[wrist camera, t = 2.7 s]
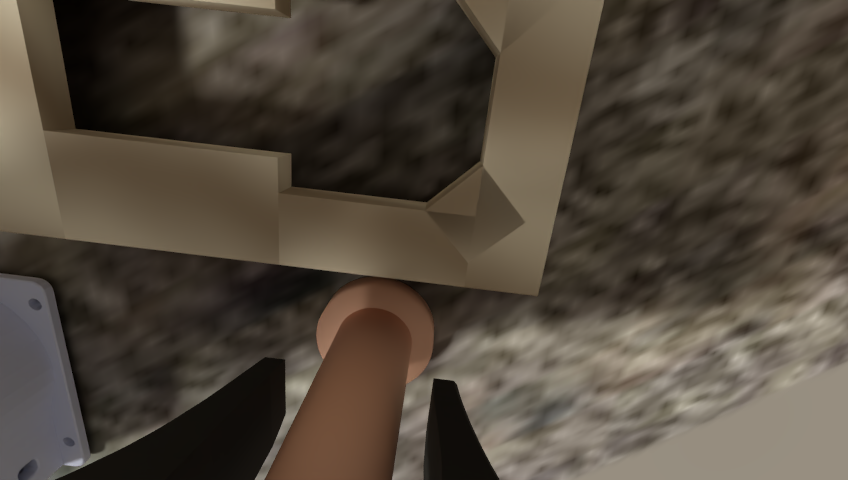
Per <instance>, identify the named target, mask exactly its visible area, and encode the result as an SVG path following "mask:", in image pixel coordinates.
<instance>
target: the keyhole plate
mask: <svg viewBox="0 0 848 480" xmlns="http://www.w3.org/2000/svg"><path fill="white" fill-rule="evenodd" d="M130 1H139V2H148V3H157V4H166V5H175V6H185V7H194V8H203V9H212V10H221V11H230V12H239V13H249V14H258V15H267V16H276V17H285V18H291V0H130ZM456 1H457V2H458V4H459V5H460V7H461V8H462V10H463V11H464V13H465V14H466V16H467V17H468V18H469V20H470V21H471V23H472V24H473V26H474V27H475V29H476V30H477V31H478V33H479V34H480V36H481V37H482V39H483V40H484V42H485V43H486V44H487V46H488V47H489V49H490V50H491V52H492V53H493V55H494V56H495V57H496V59H495V66H494V72H493V79H492V86H491V92H490V99H489V105H488V112H487V118H486V125H485V132H484V138H483V145H482V151H481V158H480V162H478V163H477V164H476V165H474V166H473V167H472V168H471V169H469V170H468V171H467V172H465V173H464V174H463V175H462V176H460V177H459V178H458V179H456V180H455V181H454V182H453V183H451V184H450V185H449V186H447V187H446V188H445V189H444V190H442V191H441V192H440V193H438V194H437V195H436V196H434V197H433V198H432V199H431V200H429V201H428V202H419V201H410V200H402V199H393V198H385V197H376V196H367V195H359V194H350V193H342V192H333V191H325V190H316V189H308V188H299V187H291V154H290V153H281V152H273V151H264V150H255V149H247V148H238V147H230V146H221V145H212V144H204V143H195V142H186V141H178V140H169V139H160V138H152V137H143V136H134V135H126V134H117V133H108V132H100V131H91V130H83V129H76V128H75V123H74V117H73V111H72V106H71V100H70V95H69V89H68V83H67V78H66V72H65V67H64V61H63V56H62V50H61V44H60V39H59V33H58V28H57V22H56V16H55V11H54V5H53V0H0V231H4V232H12V233H20V234H28V235H37V236H45V237H53V238H62V239H70V240H78V241H86V242H95V243H103V244H111V245H119V246H128V247H136V248H144V249H153V250H161V251H169V252H177V253H186V254H194V255H202V256H210V257H219V258H227V259H235V260H243V261H252V262H260V263H268V264H277V265H285V266H293V267H301V268H310V269H318V270H326V271H334V272H343V273H351V274H359V275H367V276H376V277H384V278H392V279H401V280H409V281H417V282H425V283H434V284H442V285H450V286H458V287H467V288H475V289H483V290H492V291H500V292H508V293H516V294H525V295H533V296H538V293H539V288H540V284H541V280H542V275H543V271H544V266H545V262H546V257H547V253H548V248H549V244H550V240H551V235H552V231H553V226H554V222H555V217H556V213H557V208H558V204H559V200H560V195H561V191H562V186H563V182H564V177H565V173H566V168H567V164H568V160H569V155H570V151H571V146H572V142H573V137H574V133H575V128H576V124H577V120H578V115H579V111H580V106H581V102H582V97H583V93H584V88H585V84H586V80H587V75H588V71H589V66H590V62H591V57H592V53H593V48H594V44H595V40H596V35H597V31H598V26H599V22H600V17H601V13H602V8H603V4H604V0H456Z"/></svg>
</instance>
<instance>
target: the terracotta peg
mask: <svg viewBox="0 0 848 480" xmlns="http://www.w3.org/2000/svg"><path fill="white" fill-rule="evenodd" d="M316 337H317V345H318V349H319V351H320V354H321V356H322V358H323V362H322V364H321V366H320V368H319V370H318V372H317V374H316V376H315V378H314V380H313V382H312V384H311V386H310V388H309V390H308V393H307V395H306V397H305V399H304V401H303V403H302V405H301V407H300V409H299V411H298V413H297V415H296V417H295V419H294V421H293V423H292V425H291V427H290V429H289V431H288V433H287V435H286V437H285V439H284V441H283V444H282V446H281V448H280V450H279V452H278V454H277V456H276V458H275V460H274V462H273V464H272V466H271V468H270V470H269V472H268V474H267V476H266V478H265V480H392V476H393V469H394V462H395V455H396V449H397V442H398V435H399V428H400V422H401V415H402V408H403V401H404V395H405V388H406V384H407V383H409V382H410V381H412V380H414V379H415V378H416V377H418V376H419V375H420V374H421V373H422V372H423V370H424V369H425V368H426V366H427V364H428V363H429V361H430V358H431V355H432V351H433V340H434V321H433V316H432V313H431V311H430V308H429V307H428V305H427V303H426V302H425V300H424V299H423V298H422V297H421V296H420V295H419V294H418V293H417V292H416V291H415V290H414V289H413V288H411V287H410V286H408V285H406V284H405V283H402V282H400V281H398V280H395V279H392V278H384V277H376V276H372V277H364V278H359V279H356V280H353V281H351V282H349V283H347V284H346V285H344V286H343V287H341V288H340V289H339V290H338V291H337V292H336V293H335V294H334V295H333V296H332V298H331V300H330V301H329V303H328V305H327V306H326V308H325V309H324V311H323V313H322V314H321V317H320V319H319V321H318V325H317V332H316Z"/></svg>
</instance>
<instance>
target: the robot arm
mask: <svg viewBox="0 0 848 480" xmlns="http://www.w3.org/2000/svg"><path fill="white" fill-rule="evenodd" d="M285 414H286V402H285V360H283V359H275V358H267V357H265V358H264V359H262V360H261V361H259V362H258V363H256V364H255V365H254V366H252V367H251V368H249V369H248V370H247V371H245V372H244V373H242V374H241V375H240V376H238V377H237V378H235V379H234V380H233V381H231V382H230V383H228V384H227V385H226V386H224V387H223V388H221V389H220V390H218V391H217V392H215V393H214V394H213V395H211V396H210V397H208V398H207V399H205V400H204V401H202V402H201V403H199V404H197V405H196V406H194V407H193V408H191V409H190V410H188V411H186V412H185V413H183V414H182V415H180V416H179V417H177V418H175V419H174V420H172V421H171V422H169V423H167V424H166V425H164V426H162V427H161V428H159V429H157V430H155V431H154V432H152V433H150V434H148V435H146V436H145V437H143V438H141V439H139V440H137V441H135V442H133V443H132V444H130V445H128V446H126V447H124V448H122V449H120V450H118V451H116V452H114V453H112V454H110V455H108V456H106V457H103V458H101V459H99V460H97V461H95V462H93V463H91V464H89V465H87V466H85V467H83V468H80V469H78V470H76V471H74V472H72V473H70V474H67V475H65V476H63V477H60V478H58V479H56V480H255V478H256V476H257V474H258V472H259V470H260V469H261V467H262V465H263V463H264V461H265V459H266V458H267V456H268V454H269V452H270V450H271V448H272V446H273V444H274V441H275V439H276V437H277V434H278V432H279V429H280V427H281V424H282V422H283V419H284V417H285ZM89 458H90V450H89V445H88V441H87V436H86V432H85V427H84V423H83V419H82V414H81V410H80V405H79V401H78V397H77V392H76V388H75V383H74V379H73V374H72V370H71V366H70V361H69V357H68V352H67V348H66V343H65V339H64V335H63V330H62V326H61V321H60V317H59V313H58V308H57V304H56V299H55V295H54V290H53V288H52V286H51V285H50V284H49V282H47V281H46V280H44V279H41V278H36V277H28V276H20V275H11V274H3V273H0V480H47V479H48V478H49V477H50V476H51V475H52V474H53V473H54V472H55V471H56V470H58V469H59V468H60V467H61V466H62V465H70V466H81V465H83V464H84V463H85V462H86V461H87V460H88V459H89ZM424 480H499V478H498V476H497V474H496V473H495V471H494V469H493V467H492V466H491V464H490V462H489V460H488V458H487V456H486V454H485V453H484V451H483V449H482V447H481V445H480V443H479V441H478V438H477V436H476V434H475V432H474V430H473V428H472V425H471V423H470V421H469V418H468V416H467V413H466V411H465V408H464V406H463V403H462V400H461V397H460V394H459V391H458V387H457V384H456V383H455V382H454V381H450V380H442V379H434V380H433V387H432V394H431V402H430V409H429V416H428V423H427V431H426V442H425V455H424Z"/></svg>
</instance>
